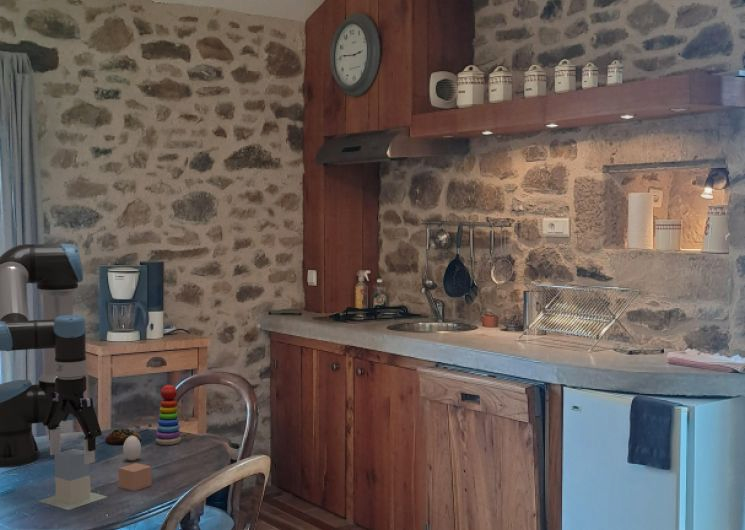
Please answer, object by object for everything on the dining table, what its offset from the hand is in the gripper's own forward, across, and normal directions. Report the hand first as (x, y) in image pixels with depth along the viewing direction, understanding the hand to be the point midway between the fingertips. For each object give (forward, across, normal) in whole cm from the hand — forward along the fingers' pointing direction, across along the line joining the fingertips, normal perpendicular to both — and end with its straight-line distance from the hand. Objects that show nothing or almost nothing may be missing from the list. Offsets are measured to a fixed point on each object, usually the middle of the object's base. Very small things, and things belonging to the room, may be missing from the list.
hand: (72, 458), depth 223 cm
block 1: (+4, 0, 0) cm, 4 cm away
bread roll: (+13, -36, +47) cm, 61 cm away
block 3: (+11, +6, +16) cm, 20 cm away
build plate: (+11, +1, 0) cm, 11 cm away
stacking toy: (+12, -22, +54) cm, 59 cm away
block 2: (+10, +1, 0) cm, 10 cm away
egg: (+12, -16, +34) cm, 39 cm away
